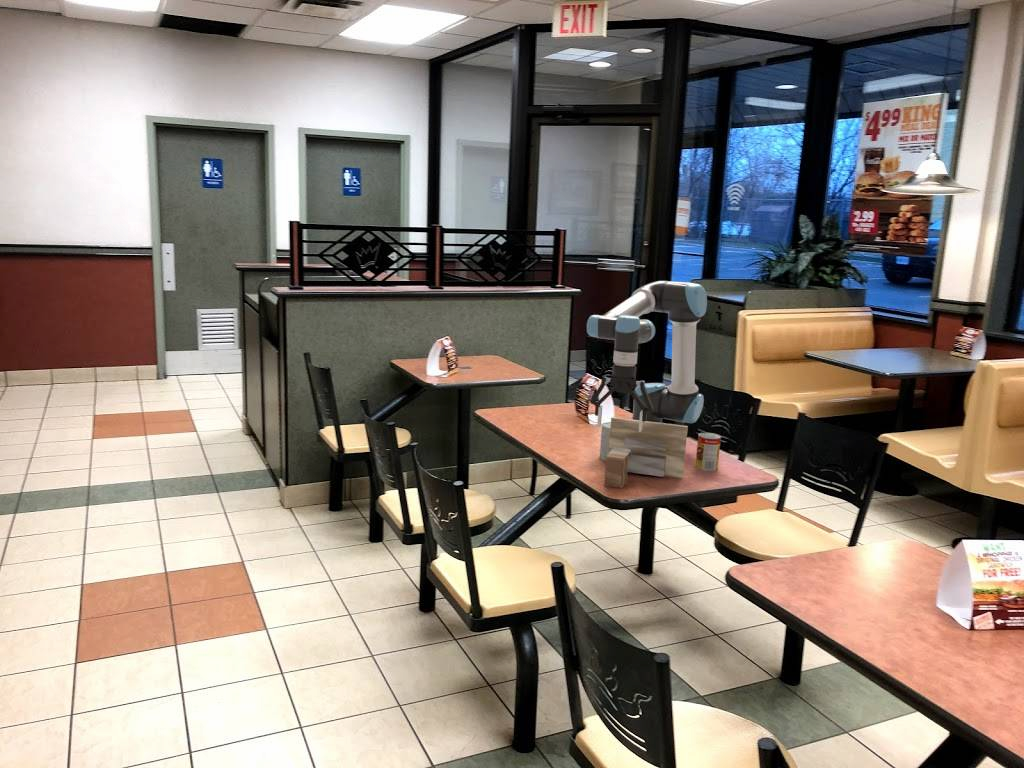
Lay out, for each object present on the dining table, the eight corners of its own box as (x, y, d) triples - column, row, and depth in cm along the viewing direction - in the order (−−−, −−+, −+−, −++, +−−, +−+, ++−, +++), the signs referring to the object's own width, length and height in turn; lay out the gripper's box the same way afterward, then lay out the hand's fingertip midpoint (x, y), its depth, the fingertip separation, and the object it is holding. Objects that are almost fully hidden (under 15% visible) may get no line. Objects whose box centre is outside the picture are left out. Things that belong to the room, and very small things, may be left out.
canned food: (712, 464, 301) (715, 432, 299) (721, 471, 294) (724, 438, 291) (691, 464, 300) (694, 432, 297) (700, 471, 292) (703, 438, 290)
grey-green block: (624, 463, 297) (627, 430, 295) (598, 460, 299) (600, 427, 297) (626, 456, 307) (629, 423, 304) (600, 453, 308) (603, 421, 306)
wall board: (608, 466, 292) (612, 417, 289) (683, 477, 285) (687, 426, 281) (604, 471, 286) (608, 420, 283) (680, 482, 279) (685, 430, 275)
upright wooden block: (611, 475, 283) (613, 446, 281) (628, 477, 281) (631, 449, 279) (603, 486, 271) (605, 456, 269) (621, 489, 269) (624, 459, 267)
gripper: (584, 361, 266) (579, 426, 271) (662, 370, 259) (656, 435, 263) (589, 358, 273) (584, 421, 278) (665, 366, 266) (659, 430, 270)
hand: (619, 428), depth 270 cm, fingers open, 13 cm apart
